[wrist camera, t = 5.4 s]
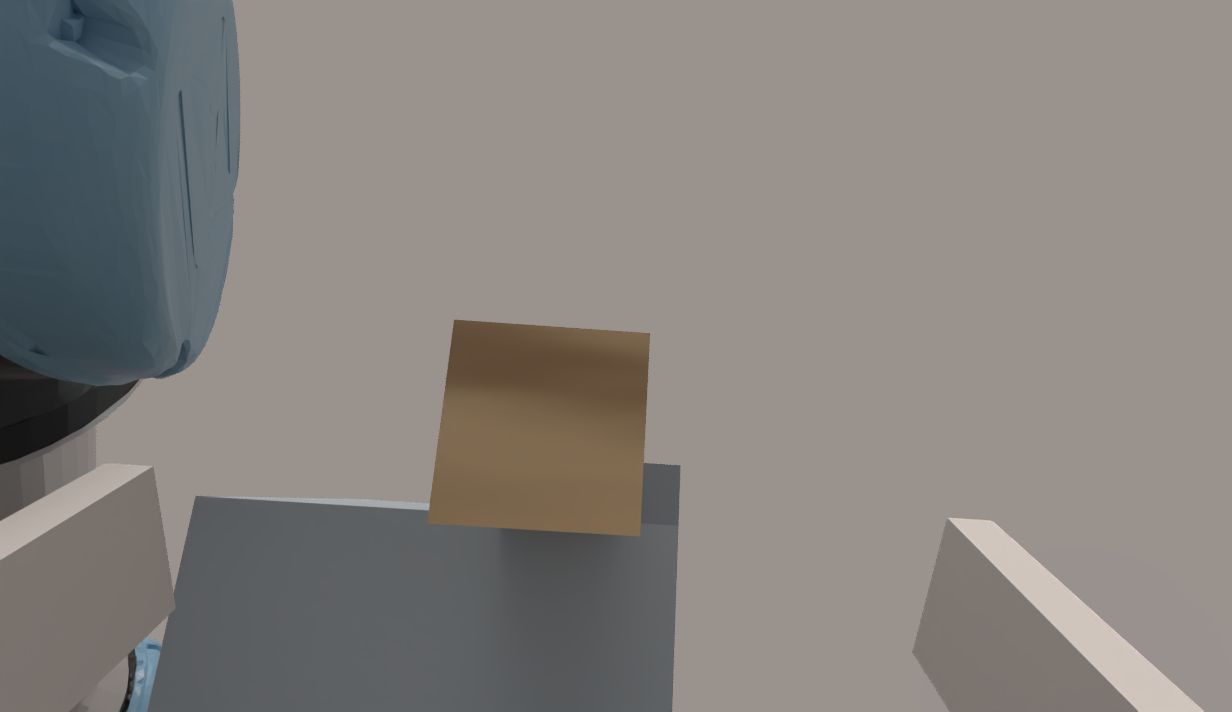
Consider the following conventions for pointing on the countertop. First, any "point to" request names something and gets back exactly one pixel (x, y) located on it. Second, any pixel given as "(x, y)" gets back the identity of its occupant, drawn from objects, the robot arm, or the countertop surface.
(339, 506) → the stand
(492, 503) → the oak block
